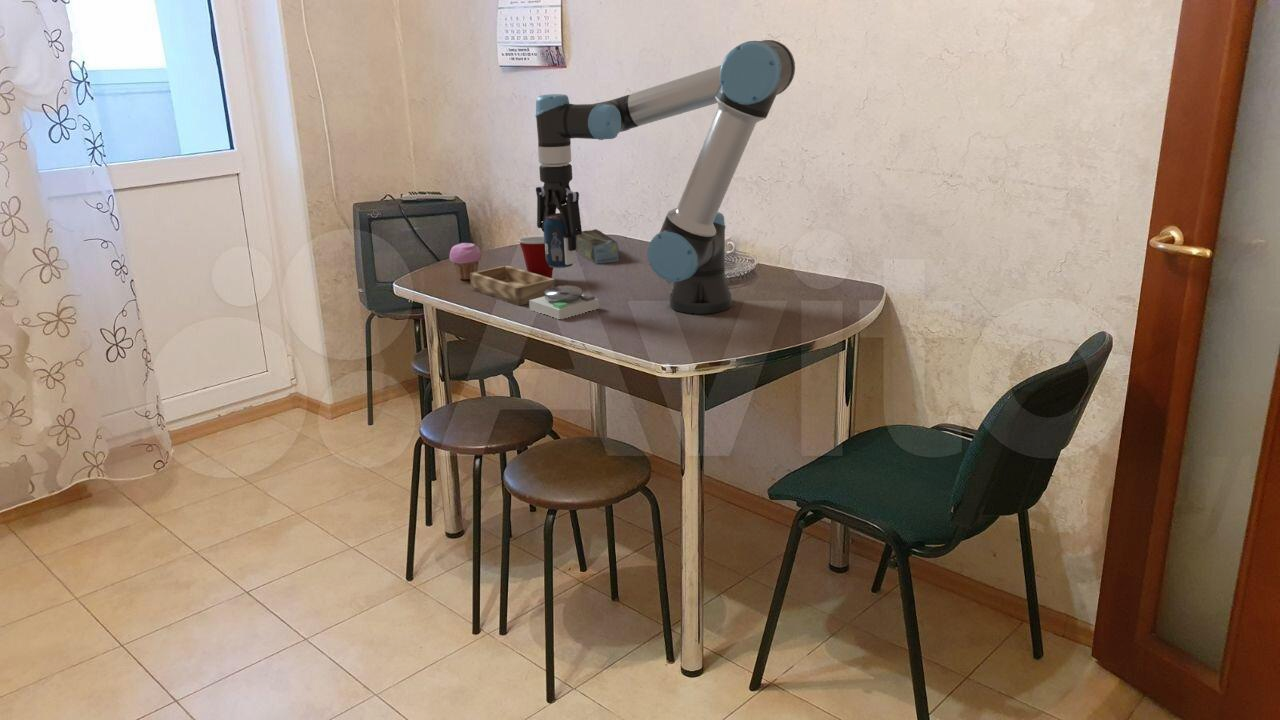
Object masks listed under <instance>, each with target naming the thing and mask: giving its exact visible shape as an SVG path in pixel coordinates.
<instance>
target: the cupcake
mask: <svg viewBox="0 0 1280 720" xmlns="http://www.w3.org/2000/svg"><path fill="white" fill-rule="evenodd" d="M481 252H482V251H481V249H480V248H479V247H478V246H477V245H476V244H475V243H471V242H460V243H458V244H455V245H453V246H452V247H451V249H450V251H449V261H450V262H452V263H453V265H454V267H455V269H456V273H457V277H458V278H459V279H460V280H463V281H464V280H470V273H473V272H477V271H478V268H479V261H481V259H482V253H481Z"/></svg>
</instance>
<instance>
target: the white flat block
mask: <svg viewBox="0 0 1280 720" xmlns="http://www.w3.org/2000/svg"><path fill="white" fill-rule="evenodd" d="M528 304H529V305H528V306H529V311H532V312H534V311H535V312H534V313H537V312H538V314H540V313H542V314H541V315H543V314H546V315H549V316H551V317H550V318H552V317H554V318H553V319H555V318H557V319H556V320H558V319H562V320H564V319H563V318H566V319H568V317H569V318H572V317H571V316H573V317H575V315H576V316H579V314H580V315H583V314H586V313H585V312H587V313H589V312H588V311H591V312H593V311H592V310H594V311H597V310H596V309H598V310H599V309H600V302H599V299H598V298H596V297H595V295H592V294H589V293H588V294H582V297H581V298H579V299H577V300H573V301H567V302H554V301H549V300H546V299H545V296H544V297H540V298H536V299H532V300H529V303H528ZM582 313H583V314H582ZM546 315H545V316H546ZM549 316H548V317H549Z"/></svg>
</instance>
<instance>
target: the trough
mask: <svg viewBox="0 0 1280 720" xmlns="http://www.w3.org/2000/svg"><path fill="white" fill-rule="evenodd" d="M469 280H470V289H471V290H472V291H475V292H477V293H480V294H483V295H486V296H489V297H491V298H494V297H495V299H497V298H498V300H500V299H501V300H500V301H503V300H504V302H506V301H507V303H510V304H512V305H516V306H519V307H520V306H523V305H527V304H529V300H532V299H536V298H540V297H544V296H545V290H546V289H548V288H551V287H556V279H555V278H553V277H552V278H549V277H546V276H542V275H539V274H535V273H532V272H528V271H527V270H525V269H521V268H518V267H514V266H511V265H507V264H504V265H501V266H495V267H490V268H488V269H487V268H486V269H482V270H479V271H478V270H477V272H473V273H470V279H469Z"/></svg>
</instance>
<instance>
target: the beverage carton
mask: <svg viewBox="0 0 1280 720" xmlns="http://www.w3.org/2000/svg"><path fill="white" fill-rule="evenodd" d="M576 252H577V253H579V254H580V255H581V256H582V257H584V258H585V257H586V258H585V259H586V260H588V259H589V260H588V261H590V262H591V261H592V262H591V263H593V264H594V263H595V264H594V265H599V264H598V263H600V264H605V263H607V262H608V263H614V262H615V263H616V262H619V261H620V258H619V257H620V256H619V255H620V254H619V243H618V242H617V241H616V240H614V239H612V238H611V237H610V236H608V235H607V234H605V233H603V232H602V231H600V230H598V229H597V228H595V229H591V230H590V229H589V230H582V234H580V235H577V236H576Z"/></svg>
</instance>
